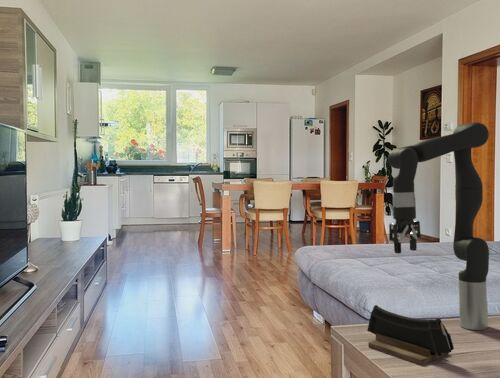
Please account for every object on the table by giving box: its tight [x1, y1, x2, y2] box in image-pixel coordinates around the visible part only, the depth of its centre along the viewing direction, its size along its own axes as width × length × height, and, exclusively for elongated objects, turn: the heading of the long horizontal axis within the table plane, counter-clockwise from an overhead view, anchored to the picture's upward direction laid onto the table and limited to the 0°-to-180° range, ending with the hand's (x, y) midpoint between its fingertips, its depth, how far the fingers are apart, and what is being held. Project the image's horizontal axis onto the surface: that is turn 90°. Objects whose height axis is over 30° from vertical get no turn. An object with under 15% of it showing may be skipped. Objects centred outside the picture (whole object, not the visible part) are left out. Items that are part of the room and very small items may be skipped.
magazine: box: [366, 304, 455, 356], centre depth 149 cm, size 17×3×30 cm
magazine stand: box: [367, 333, 450, 366], centre depth 148 cm, size 14×20×4 cm
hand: (405, 251), depth 160 cm, fingers open, 8 cm apart
